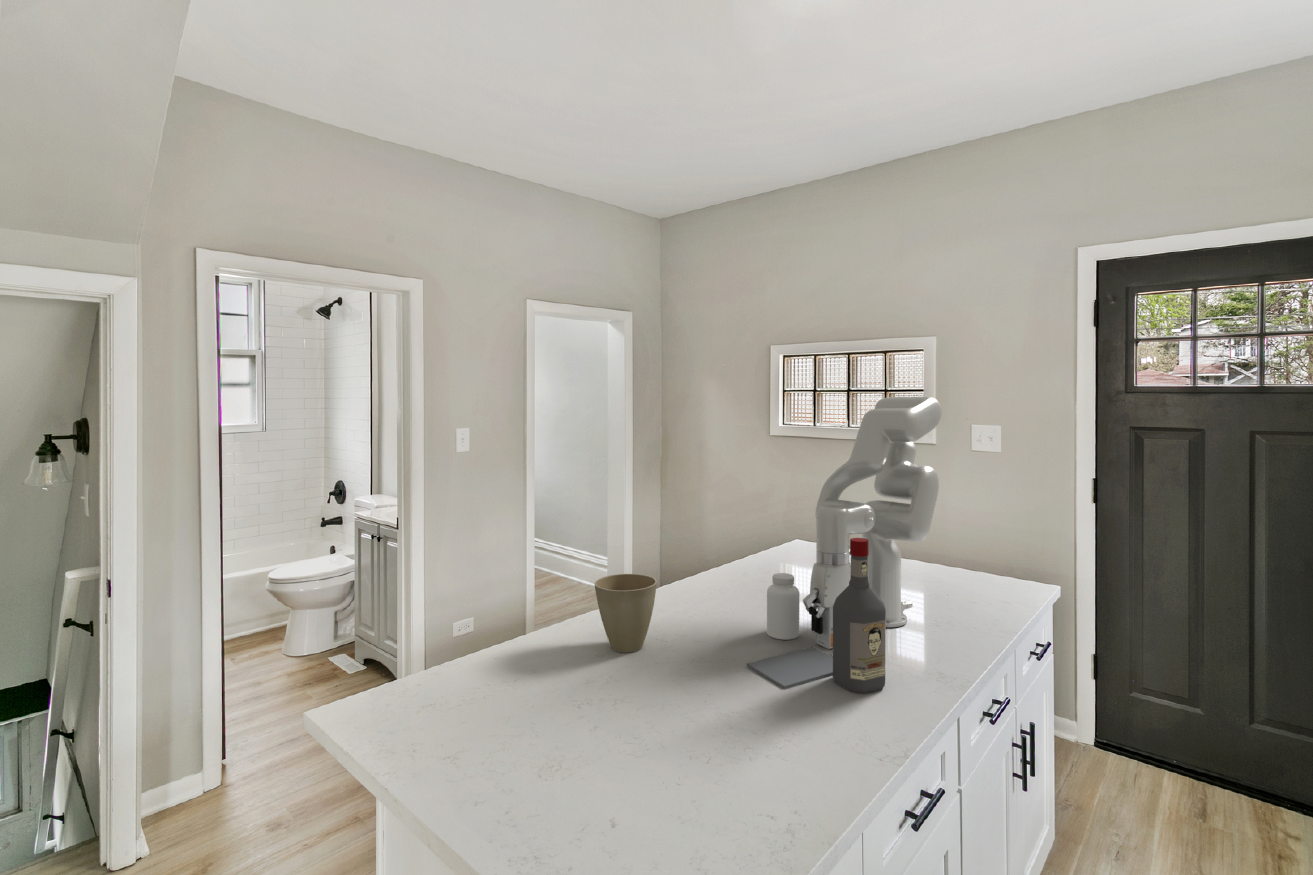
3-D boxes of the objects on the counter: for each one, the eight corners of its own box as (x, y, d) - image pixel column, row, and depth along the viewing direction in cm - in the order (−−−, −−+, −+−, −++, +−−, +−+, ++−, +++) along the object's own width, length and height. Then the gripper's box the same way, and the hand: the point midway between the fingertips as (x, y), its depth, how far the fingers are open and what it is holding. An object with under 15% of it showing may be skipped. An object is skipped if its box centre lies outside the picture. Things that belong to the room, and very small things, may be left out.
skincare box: (829, 650, 150) (829, 599, 149) (816, 643, 153) (816, 594, 153) (848, 644, 152) (848, 595, 152) (835, 639, 156) (835, 590, 155)
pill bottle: (799, 641, 155) (799, 580, 154) (766, 639, 157) (765, 579, 156) (799, 629, 163) (799, 571, 162) (767, 628, 164) (766, 570, 163)
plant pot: (670, 645, 154) (669, 580, 153) (626, 664, 143) (625, 595, 142) (627, 630, 164) (626, 569, 163) (583, 647, 153) (581, 582, 152)
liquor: (826, 678, 135) (826, 537, 133) (861, 670, 138) (861, 533, 136) (856, 696, 126) (856, 546, 124) (892, 687, 130) (893, 541, 128)
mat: (812, 648, 150) (812, 646, 150) (853, 668, 139) (853, 666, 139) (746, 665, 142) (746, 663, 141) (784, 688, 130) (784, 686, 130)
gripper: (847, 550, 159) (847, 617, 160) (793, 559, 151) (793, 630, 152) (871, 556, 152) (870, 626, 153) (815, 566, 144) (815, 640, 145)
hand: (832, 628), depth 153 cm, fingers open, 9 cm apart
